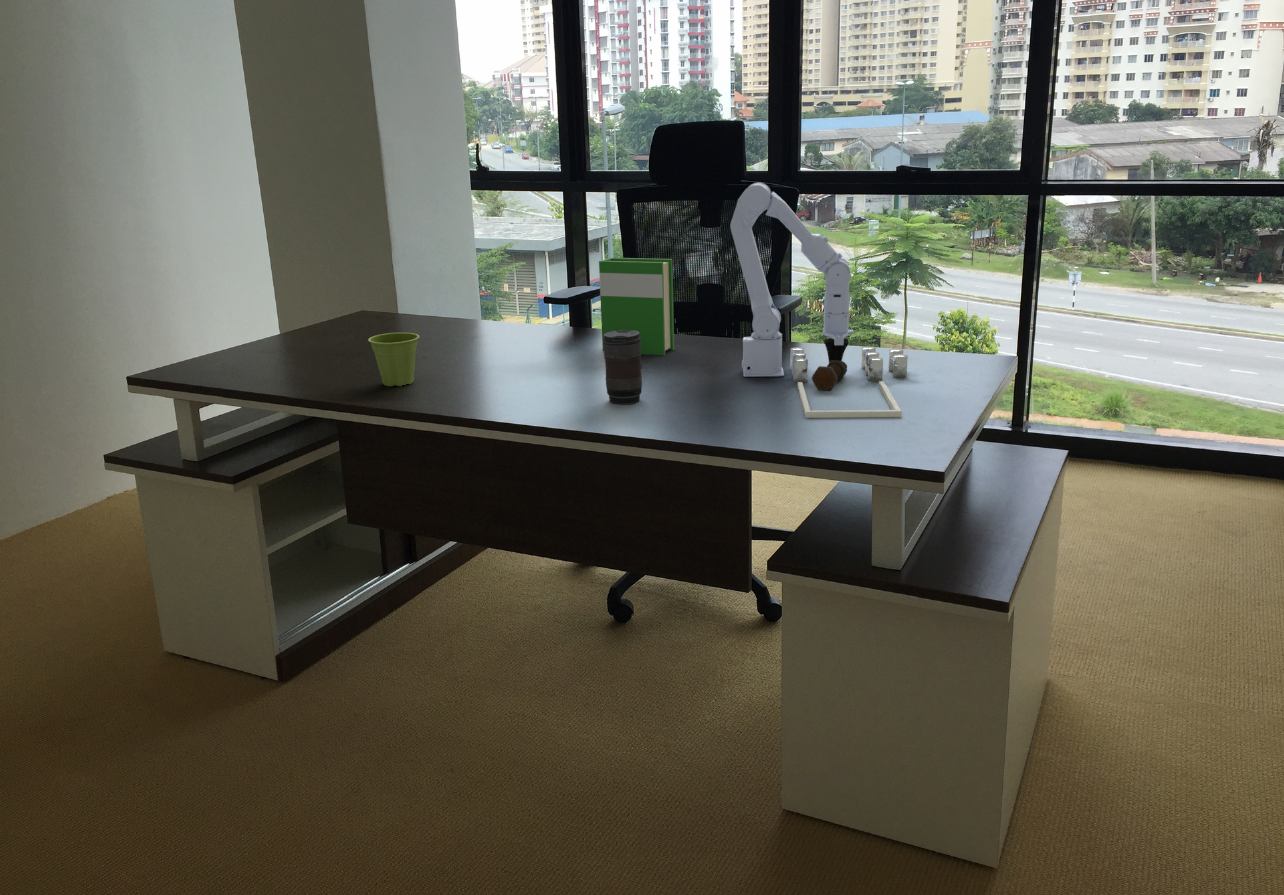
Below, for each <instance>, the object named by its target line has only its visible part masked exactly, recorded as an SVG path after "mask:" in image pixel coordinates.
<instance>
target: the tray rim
mask: <svg viewBox="0 0 1284 895" xmlns="http://www.w3.org/2000/svg"><path fill="white" fill-rule="evenodd" d="M878 388H879V390H880V391H881V392H882V394H883V397H884V398H885V400H886V402H887V403H888V405H889V407H890V409H872V410H871V409H867V410H865V409H863V410H862V409H855V410H854V409H853V410H852V409H851V410H850V409H849V410H845V409H844V410H811V407H810V404H809V402H808V397H807V394H806V391H805V387H804V384H803V383H802V382H798V383H797V389H798V390H799V391H798V390H797V391H798V394H799V398H800V402H801V404H802V409H803V413H804V417H805V419H806V418H807V419H811V418H814V419H815V418H816V419H818V418H822V419H823V418H825V419H826V418H829V419H830V418H834V419H835V418H837V419H838V418H902V410H901V408H900V406H899V404H898V403H897V401H896V400H895V398H894V397H893V394H892V393H891V391H890V390H889V387H887V385H886V383H885V381H883V380H882V381H879V382H878Z"/></svg>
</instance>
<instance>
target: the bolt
mask: <svg viewBox="0 0 1284 895" xmlns="http://www.w3.org/2000/svg"><path fill="white" fill-rule="evenodd" d="M847 368H848V365H847V363H846V362H844V361H843V360H842V361H838V360H831V361H830V363H829V362H828V364H827V366H821V365H820V366H818V367H817V368H816V369H815V371H814V373H813V374H812V376H811V381H812V382H813V385H814V387H815V388H816V389H817V390H818V391H831V390H833V388H834V386H835V385H836V384H837V382H838V381H842V380H843V378H844V377H845V375H846V374H847V372H848V369H847Z"/></svg>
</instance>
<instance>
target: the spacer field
mask: <svg viewBox="0 0 1284 895" xmlns="http://www.w3.org/2000/svg"><path fill="white" fill-rule="evenodd" d="M876 351H877V349H876V347H875V346H863V347H862V348H861V369H862V370H864V375H865V374H866V375H865V376H867V380H869V381H868V382H870V383H871V382H872V383H879V381H883V372H884V371H883V369H884V358H882V357H880V353H879V352H878V351H877V352H876ZM908 357H909V356H908V355H907V354H904V349H901V348H891V349H889V355H888V372H889V373H892V376H893V377H892V378H893V379H898V378H903V379H907V376H908V359H909V358H908ZM789 360H790V365H789V366H790V367H789V369H790V370H791V376H792V378H793V382H794V383H797V384H798V382H802V383H807V382H808V368H809V367H808V366H809V362H808V361H809V360H808V359H807V354H806V353H805V348H804V347H791V348H790V359H789Z"/></svg>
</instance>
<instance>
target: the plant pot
mask: <svg viewBox="0 0 1284 895" xmlns="http://www.w3.org/2000/svg"><path fill="white" fill-rule="evenodd" d="M419 338H420V335H419V334H417V333H413V332H389V333H383V334H377V335H374V336H371V337H369V338H368V342H369V343H370V345H371V348H372V351H373V353H374V356H375V359H376V364H377V366H378V370H379V373H380V377H381V381H382V384H383V385H384V386H385V387H386V386H387V387H390V386H391V387H394V386H397V387H403V386H402V385H405V386H407V385H406V384H409V385H411V384H413V382H414V381H415V366H416V365H415V364H416V352H417V347H418V339H419Z"/></svg>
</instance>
